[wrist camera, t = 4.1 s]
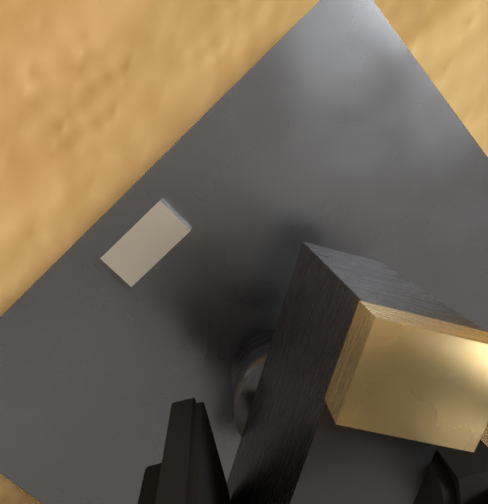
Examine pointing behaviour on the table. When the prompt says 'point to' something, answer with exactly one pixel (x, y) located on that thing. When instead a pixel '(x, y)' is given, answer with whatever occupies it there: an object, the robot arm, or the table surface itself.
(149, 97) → the table surface
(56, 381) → the base
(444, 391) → the wing knob
